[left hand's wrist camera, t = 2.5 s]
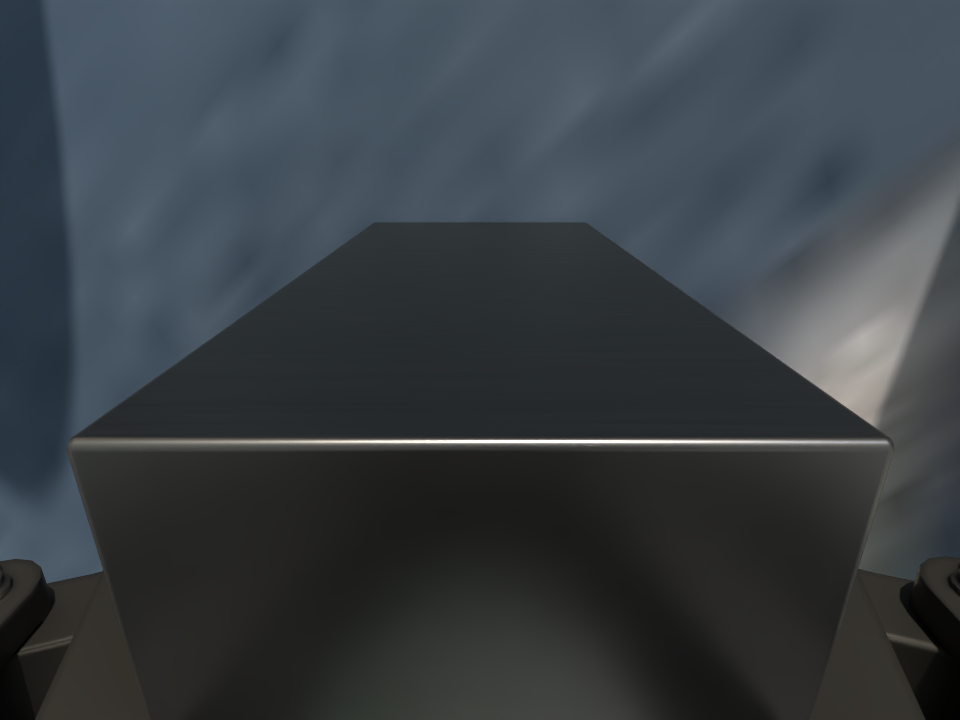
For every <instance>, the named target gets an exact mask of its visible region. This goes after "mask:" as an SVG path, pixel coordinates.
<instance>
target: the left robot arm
mask: <svg viewBox="0 0 960 720" xmlns="http://www.w3.org/2000/svg"><path fill="white" fill-rule="evenodd" d="M0 720H149V717H148V714H147V711H146V708H145V704H144V701H143V698H142V695H141V691H140V688H139V685H138V682H137V678H136V675H135V672H134V668H133V665H132V662H131V659H130V655H129V652H128V649H127V646H126V642H125V639H124V636H123V632H122V629H121V626H120V623H119V619H118V616H117V613H116V610H115V606H114V603H113V600H112V597H111V593H110V590H109V587H108V583H107V580H106V577H105V574H104V570H103V571H102V572H98V573H95V574H90V575H86V576H81V577H76V578H71V579H67V580H62V581H57V582H53V583H48V584H47V583H46V580H45V578H44V575H43V572H42V569H41V567H40V566H39V565H37V564H36V563H34V562H33V561H30V560H21V559H13V560H6V561H0ZM812 720H960V559H958V558H951V557H937V558H929V559H928V560H926V561H925V562H924V563H922V564H921V565H920V568H919V571H918V573H917V576H916V579H915V581H910V580H905V579H900V578H896V577H891V576H886V575H881V574H877V573H872V572H867V571H864V570H860V569H858V570H857V573H856V576H855V580H854V583H853V586H852V590H851V593H850V596H849V599H848V603H847V606H846V609H845V612H844V616H843V619H842V622H841V625H840V629H839V632H838V635H837V638H836V642H835V645H834V648H833V651H832V655H831V658H830V661H829V665H828V668H827V671H826V674H825V678H824V681H823V684H822V687H821V691H820V694H819V697H818V700H817V704H816V707H815V710H814V713H813V717H812Z"/></svg>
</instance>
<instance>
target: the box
mask: <svg viewBox="0 0 960 720" xmlns="http://www.w3.org/2000/svg"><path fill="white" fill-rule="evenodd" d="M67 453H68V456H69V459H70V463H71V466H72V469H73V472H74V476H75V479H76V482H77V485H78V489H79V492H80V495H81V499H82V502H83V505H84V508H85V512H86V515H87V518H88V521H89V525H90V528H91V531H92V534H93V538H94V541H95V544H96V548H97V551H98V554H99V557H100V561H101V564H102V567H103V570H104V574H105V577H106V580H107V583H108V587H109V590H110V593H111V597H112V600H113V603H114V606H115V610H116V613H117V616H118V619H119V623H120V626H121V629H122V632H123V636H124V639H125V642H126V646H127V649H128V652H129V655H130V659H131V662H132V665H133V668H134V672H135V675H136V678H137V682H138V685H139V688H140V691H141V695H142V698H143V701H144V704H145V708H146V711H147V714H148V717H149V720H812V717H813V713H814V710H815V707H816V704H817V700H818V697H819V694H820V691H821V687H822V684H823V681H824V678H825V674H826V671H827V668H828V665H829V661H830V658H831V655H832V651H833V648H834V645H835V642H836V638H837V635H838V632H839V629H840V625H841V622H842V619H843V616H844V612H845V609H846V606H847V603H848V599H849V596H850V593H851V590H852V586H853V583H854V580H855V576H856V573H857V570H858V567H859V563H860V560H861V557H862V554H863V550H864V547H865V544H866V541H867V537H868V534H869V531H870V528H871V524H872V521H873V518H874V515H875V511H876V508H877V505H878V502H879V498H880V495H881V492H882V488H883V485H884V482H885V479H886V475H887V472H888V469H889V466H890V462H891V459H892V456H893V453H894V445H893V442H892V440H891V439H890V438H889V437H887V436H886V435H885V434H883V433H882V432H880V431H879V430H878V429H876V428H875V427H873V426H872V425H870V424H869V423H868V422H866V421H865V420H863V419H862V418H861V417H859V416H858V415H856V414H855V413H854V412H852V411H851V410H849V409H848V408H846V407H845V406H844V405H842V404H841V403H839V402H838V401H837V400H835V399H834V398H832V397H831V396H830V395H828V394H827V393H825V392H824V391H823V390H821V389H820V388H818V387H817V386H815V385H814V384H813V383H811V382H810V381H808V380H807V379H806V378H804V377H803V376H801V375H800V374H799V373H797V372H796V371H794V370H793V369H791V368H790V367H789V366H787V365H786V364H784V363H783V362H782V361H780V360H779V359H777V358H776V357H775V356H773V355H772V354H770V353H769V352H768V351H766V350H765V349H763V348H762V347H760V346H759V345H758V344H756V343H755V342H753V341H752V340H751V339H749V338H748V337H746V336H745V335H744V334H742V333H741V332H739V331H738V330H736V329H735V328H734V327H732V326H731V325H729V324H728V323H727V322H725V321H724V320H722V319H721V318H720V317H718V316H717V315H715V314H714V313H713V312H711V311H710V310H708V309H707V308H705V307H704V306H703V305H701V304H700V303H698V302H697V301H696V300H694V299H693V298H691V297H690V296H689V295H687V294H686V293H684V292H683V291H681V290H680V289H679V288H677V287H676V286H674V285H673V284H672V283H670V282H669V281H667V280H666V279H665V278H663V277H662V276H660V275H659V274H658V273H656V272H655V271H653V270H652V269H650V268H649V267H648V266H646V265H645V264H643V263H642V262H641V261H639V260H638V259H636V258H635V257H634V256H632V255H631V254H629V253H628V252H626V251H625V250H624V249H622V248H621V247H619V246H618V245H617V244H615V243H614V242H612V241H611V240H610V239H608V238H607V237H605V236H604V235H603V234H601V233H600V232H598V231H597V230H595V229H594V228H593V227H591V226H590V225H588V224H587V223H373V224H372V225H370V226H369V227H368V228H366V229H365V230H363V231H362V232H361V233H359V234H358V235H356V236H355V237H354V238H352V239H351V240H349V241H348V242H347V243H345V244H344V245H342V246H341V247H339V248H338V249H337V250H335V251H334V252H332V253H331V254H330V255H328V256H327V257H325V258H324V259H323V260H321V261H320V262H318V263H317V264H316V265H314V266H313V267H311V268H310V269H309V270H307V271H306V272H304V273H303V274H301V275H300V276H299V277H297V278H296V279H294V280H293V281H292V282H290V283H289V284H287V285H286V286H285V287H283V288H282V289H280V290H279V291H278V292H276V293H275V294H273V295H272V296H271V297H269V298H268V299H266V300H265V301H263V302H262V303H261V304H259V305H258V306H256V307H255V308H254V309H252V310H251V311H249V312H248V313H247V314H245V315H244V316H242V317H241V318H240V319H238V320H237V321H235V322H234V323H233V324H231V325H230V326H228V327H227V328H226V329H224V330H223V331H221V332H220V333H218V334H217V335H216V336H214V337H213V338H211V339H210V340H209V341H207V342H206V343H204V344H203V345H202V346H200V347H199V348H197V349H196V350H195V351H193V352H192V353H190V354H189V355H188V356H186V357H185V358H183V359H182V360H180V361H179V362H178V363H176V364H175V365H173V366H172V367H171V368H169V369H168V370H166V371H165V372H164V373H162V374H161V375H159V376H158V377H157V378H155V379H154V380H152V381H151V382H150V383H148V384H147V385H145V386H144V387H142V388H141V389H140V390H138V391H137V392H135V393H134V394H133V395H131V396H130V397H128V398H127V399H126V400H124V401H123V402H121V403H120V404H119V405H117V406H116V407H114V408H113V409H112V410H110V411H109V412H107V413H106V414H104V415H103V416H102V417H100V418H99V419H97V420H96V421H95V422H93V423H92V424H90V425H89V426H88V427H86V428H85V429H83V430H82V431H81V432H79V433H78V434H76V435H75V436H74V437H72V438H71V439H70V440H69V442H68V444H67Z"/></svg>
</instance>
